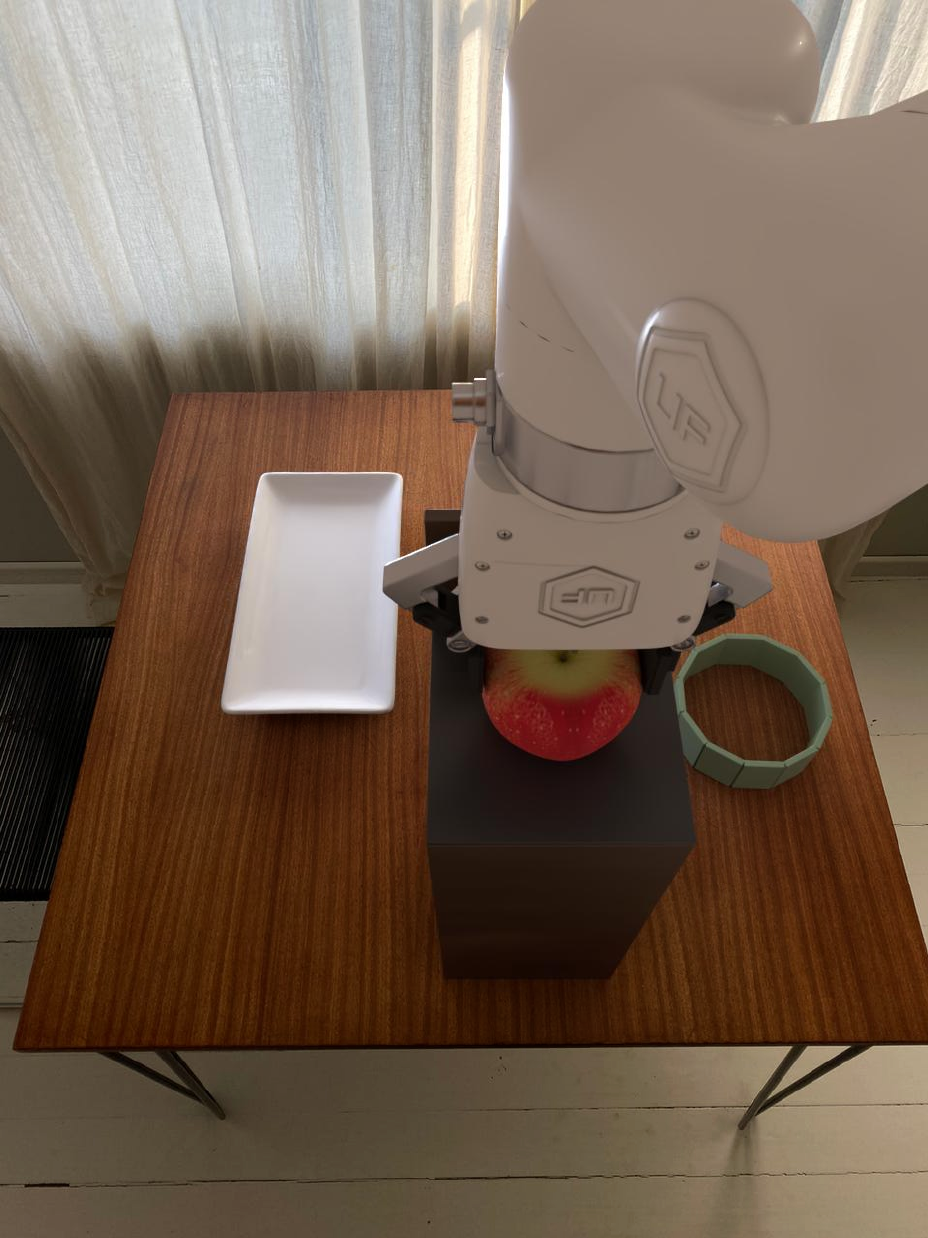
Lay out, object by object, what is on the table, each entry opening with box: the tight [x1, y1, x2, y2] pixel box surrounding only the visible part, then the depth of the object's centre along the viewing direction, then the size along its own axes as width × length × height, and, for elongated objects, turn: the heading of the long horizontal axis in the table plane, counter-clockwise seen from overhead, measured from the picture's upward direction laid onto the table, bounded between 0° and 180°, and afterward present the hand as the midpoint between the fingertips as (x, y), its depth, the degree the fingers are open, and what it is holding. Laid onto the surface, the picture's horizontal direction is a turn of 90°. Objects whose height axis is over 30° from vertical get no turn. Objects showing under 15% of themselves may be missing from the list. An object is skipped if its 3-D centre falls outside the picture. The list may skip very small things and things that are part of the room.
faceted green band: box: [673, 633, 834, 790], centre depth 84 cm, size 14×14×5 cm
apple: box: [482, 646, 642, 761], centre depth 45 cm, size 8×8×10 cm
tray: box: [220, 471, 404, 715], centre depth 94 cm, size 17×32×4 cm, turn 0°
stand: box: [423, 508, 698, 980], centre depth 59 cm, size 14×14×44 cm
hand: (561, 669), depth 44 cm, fingers closed on apple, 8 cm apart
